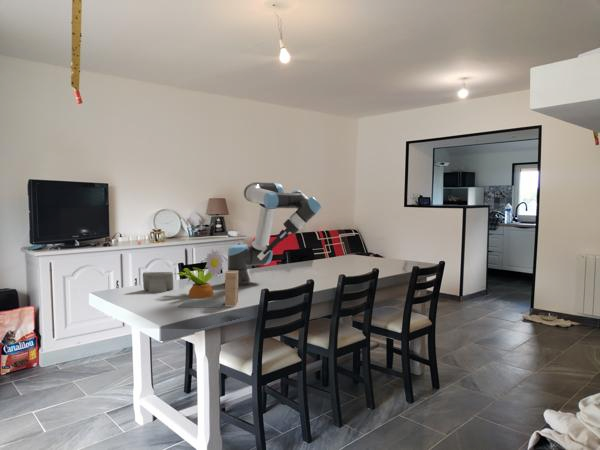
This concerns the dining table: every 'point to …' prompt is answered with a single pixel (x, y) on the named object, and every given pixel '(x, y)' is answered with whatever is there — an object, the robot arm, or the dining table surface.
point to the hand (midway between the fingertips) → (259, 258)
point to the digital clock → (158, 281)
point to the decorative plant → (200, 285)
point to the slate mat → (202, 303)
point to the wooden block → (231, 288)
